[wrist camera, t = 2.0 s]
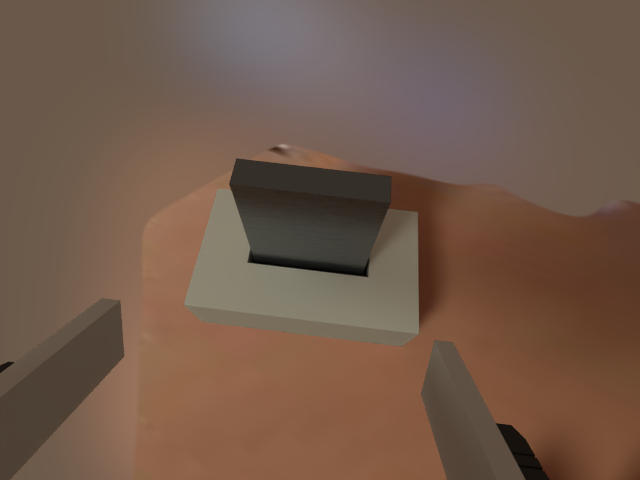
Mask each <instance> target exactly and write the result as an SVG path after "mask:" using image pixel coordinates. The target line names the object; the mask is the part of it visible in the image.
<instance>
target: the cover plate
mask: <svg viewBox="0 0 640 480" xmlns="http://www.w3.org/2000/svg"><path fill="white" fill-rule="evenodd" d="M229 185H230V188H231V191H232V194H233V197H234V200H235V203H236V206H237V209H238V212H239V215H240V218H241V221H242V224H243V227H244V230H245V233H246V236H247V239H248V242H249V245H250V248H251V252H252V255H253V258H254V261H255V264H262V265H270V266H279V267H287V268H295V269H303V270H312V271H320V272H328V273H336V274H345V275H353V276H362V273H363V271H364V268H365V266H366V263H367V261H368V258H369V256H370V253H371V251H372V248H373V246H374V243H375V241H376V238H377V236H378V233H379V231H380V228H381V226H382V223H383V221H384V218H385V216H386V213H387V210H388V208H389V205H390V203H391V176H383V175H374V174H366V173H357V172H348V171H340V170H331V169H322V168H314V167H305V166H296V165H288V164H279V163H270V162H262V161H253V160H244V159H236V162H235V165H234V169H233V173H232V176H231V180H230V183H229Z"/></svg>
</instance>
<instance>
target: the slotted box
mask: <svg viewBox="0 0 640 480" xmlns="http://www.w3.org/2000/svg"><path fill="white" fill-rule="evenodd" d="M184 306H185V307H187V308H188V309H189V310H190V311H191V312H192V313H193V314H194V315H195V316H196V317H197V318H199V319H200V320H201V321H202V322H208V323H216V324H224V325H232V326H240V327H248V328H256V329H264V330H272V331H280V332H288V333H296V334H304V335H312V336H320V337H328V338H336V339H344V340H352V341H360V342H368V343H376V344H384V345H392V346H400V347H402V346H403V345H405V344H406V343H407V342H409V341H410V340H412V339H413V338H414V337H416V336H417V335H418V334H419V284H418V212H413V211H405V210H396V209H388V210H387V213H386V216H385V218H384V221H383V223H382V226H381V228H380V231H379V233H378V236H377V238H376V241H375V243H374V246H373V248H372V251H371V253H370V256H369V258H368V261H367V263H366V266H365V268H364V271H363V273H362V276H353V275H345V274H336V273H328V272H320V271H312V270H303V269H295V268H287V267H279V266H270V265H262V264H255V261H254V258H253V255H252V252H251V248H250V245H249V242H248V239H247V236H246V233H245V230H244V227H243V224H242V221H241V218H240V215H239V212H238V209H237V206H236V203H235V200H234V197H233V194H232V191H231V190H226V189H218V191H217V194H216V198H215V201H214V204H213V208H212V211H211V214H210V218H209V221H208V225H207V228H206V231H205V235H204V238H203V242H202V245H201V248H200V252H199V255H198V258H197V262H196V265H195V269H194V272H193V275H192V279H191V282H190V285H189V289H188V292H187V296H186V299H185V302H184Z"/></svg>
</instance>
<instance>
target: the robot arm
mask: <svg viewBox="0 0 640 480" xmlns="http://www.w3.org/2000/svg"><path fill="white" fill-rule="evenodd" d="M123 357H124V347H123V332H122V319H121V304H120V301H119V300H112V299H104V298H102V299H100V300H99V301H98V302H96V303H95V304H94V305H92V306H91V307H90V308H88V309H87V310H86V311H84V312H83V313H81V314H80V315H79V316H77V317H76V318H75V319H73V320H72V321H71V322H69V323H68V324H66V325H65V326H64V327H62V328H61V329H60V330H58V331H57V332H56V333H54V334H53V335H52V336H50V337H49V338H47V339H46V340H45V341H43V342H42V343H41V344H39V345H38V346H37V347H35V348H34V349H32V350H31V351H30V352H28V353H27V354H26V355H24V356H23V357H22V358H20V359H19V360H17V361H16V362H7V363H5V364H3V365H1V366H0V480H10V479H11V478H12V477H13V476H14V475H15V474H16V473H17V472H18V470H20V469H21V467H22V466H23V465H24V464H25V463H26V462H27V461H28V460H29V459H30V458H31V457H32V456H33V454H34V453H35V452H36V451H37V450H38V449H39V448H40V447H41V446H42V445H43V444H44V443H45V441H46V440H47V439H48V438H49V437H50V436H51V435H52V434H53V433H54V432H55V431H56V430H57V428H58V427H59V426H60V425H61V424H62V423H63V422H64V421H65V420H66V419H67V418H68V417H69V415H70V414H71V413H72V412H73V411H74V410H75V409H76V408H77V407H78V406H79V405H80V404H81V403H82V401H83V400H84V399H85V398H86V397H87V396H88V395H89V394H90V393H91V392H92V391H93V390H94V388H95V387H96V386H97V385H98V384H99V383H100V382H101V381H102V380H103V379H104V378H105V377H106V376H107V374H108V373H109V372H110V371H111V370H112V369H113V368H114V367H115V366H116V365H117V364H118V362H119V361H120V360H121V359H122V358H123ZM421 396H422V399H423V402H424V405H425V409H426V412H427V415H428V419H429V422H430V425H431V428H432V432H433V435H434V438H435V441H436V445H437V448H438V451H439V454H440V458H441V461H442V464H443V467H444V471H445V474H446V477H447V480H549V478H548V476H547V475H546V473H545V471H543V470H542V466H541V465H540V463H539V461H538V460H537V458H535V454H534V453H533V451H532V449H531V448H530V446H529V444H528V443H527V441H526V439H525V438H524V437H523V436H522V435H521V434H520V433H519V432H518V431H517V430H516V429H515V428H514V427H513V426H512V425H505V424H497V423H495V421H494V419H493V417H492V415H491V413H490V411H489V410H488V408H487V406H486V404H485V402H484V400H483V398H482V396H481V394H480V393H479V391H478V389H477V387H476V385H475V383H474V381H473V379H472V377H471V375H470V374H469V372H468V370H467V368H466V366H465V364H464V362H463V360H462V358H461V357H460V355H459V353H458V351H457V349H456V347H455V345H454V343H453V342H445V341H437V340H434V344H433V348H432V352H431V356H430V360H429V364H428V368H427V372H426V376H425V380H424V384H423V388H422V392H421Z"/></svg>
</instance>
